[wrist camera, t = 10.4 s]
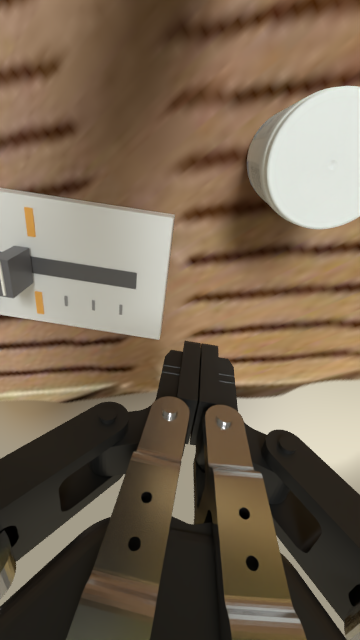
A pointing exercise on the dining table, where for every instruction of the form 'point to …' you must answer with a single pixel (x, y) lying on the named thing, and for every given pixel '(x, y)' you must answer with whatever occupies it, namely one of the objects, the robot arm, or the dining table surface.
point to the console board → (88, 262)
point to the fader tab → (15, 271)
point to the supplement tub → (311, 159)
